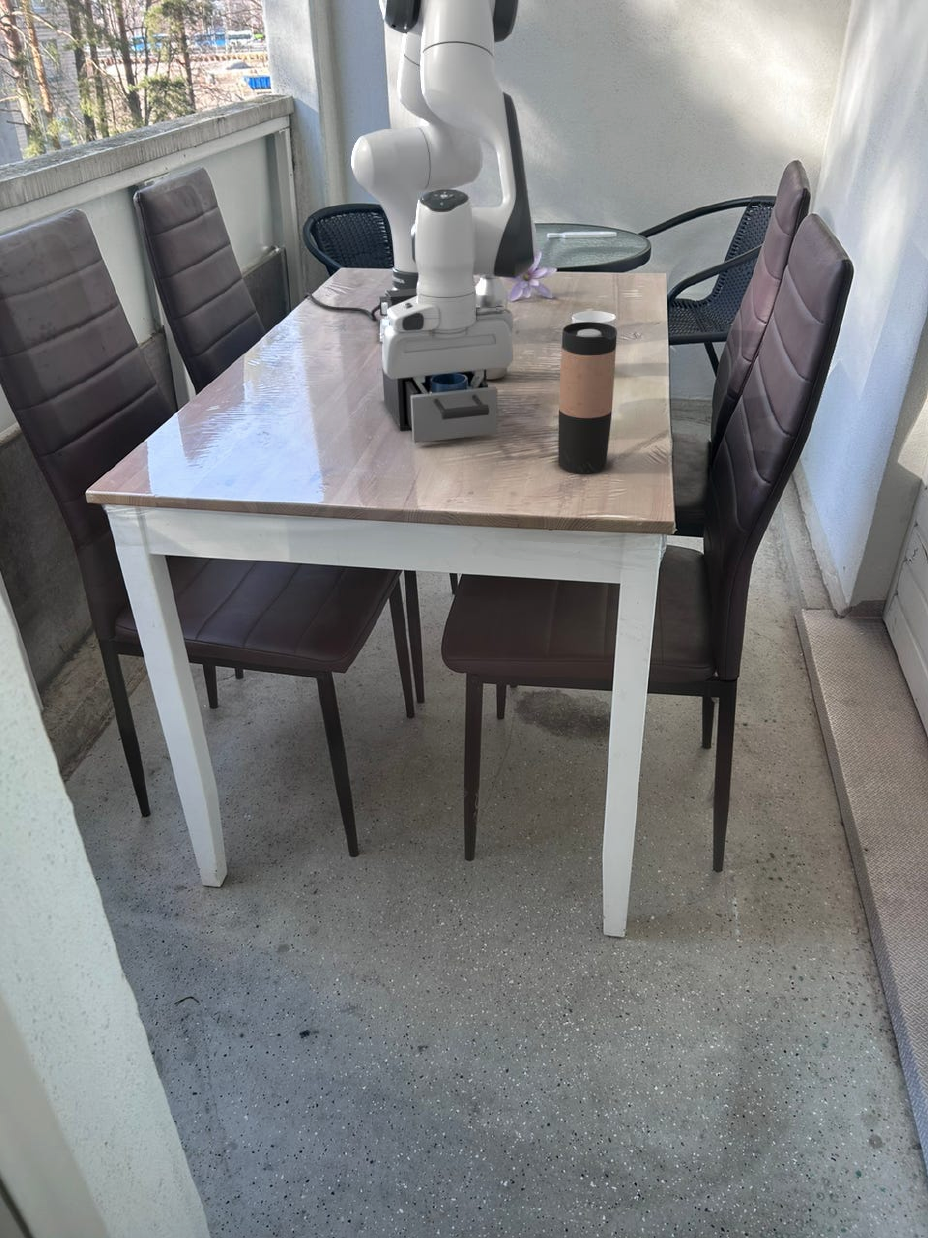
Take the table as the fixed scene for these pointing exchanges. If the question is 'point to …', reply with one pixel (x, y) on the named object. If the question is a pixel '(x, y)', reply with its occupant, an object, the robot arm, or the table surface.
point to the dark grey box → (400, 398)
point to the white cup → (594, 317)
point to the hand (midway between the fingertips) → (448, 399)
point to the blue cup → (448, 382)
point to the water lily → (531, 281)
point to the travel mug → (586, 396)
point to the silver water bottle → (491, 295)
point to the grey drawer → (450, 411)
